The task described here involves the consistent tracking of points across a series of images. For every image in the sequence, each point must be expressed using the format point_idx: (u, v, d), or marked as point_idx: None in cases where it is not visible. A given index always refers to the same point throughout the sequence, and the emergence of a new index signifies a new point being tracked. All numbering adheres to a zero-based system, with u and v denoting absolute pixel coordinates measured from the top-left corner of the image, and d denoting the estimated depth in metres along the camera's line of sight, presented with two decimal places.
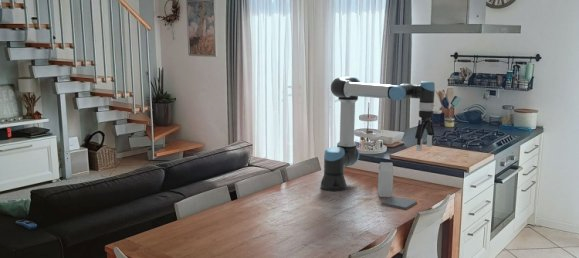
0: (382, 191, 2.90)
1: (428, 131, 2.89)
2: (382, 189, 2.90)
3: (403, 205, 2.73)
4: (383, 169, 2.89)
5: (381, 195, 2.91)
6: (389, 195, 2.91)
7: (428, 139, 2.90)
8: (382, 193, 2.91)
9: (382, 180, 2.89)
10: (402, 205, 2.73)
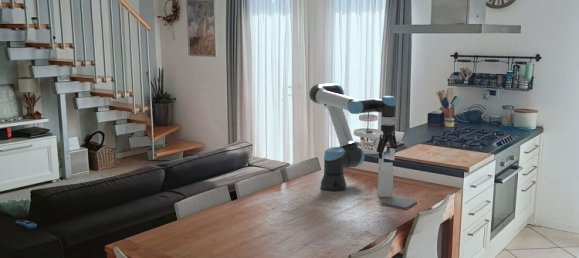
0: (382, 191, 2.90)
1: (391, 144, 2.94)
2: (382, 189, 2.90)
3: (403, 205, 2.73)
4: (383, 169, 2.89)
5: (381, 195, 2.91)
6: (389, 195, 2.91)
7: (391, 152, 2.96)
8: (382, 193, 2.91)
9: (382, 180, 2.89)
10: (402, 205, 2.73)
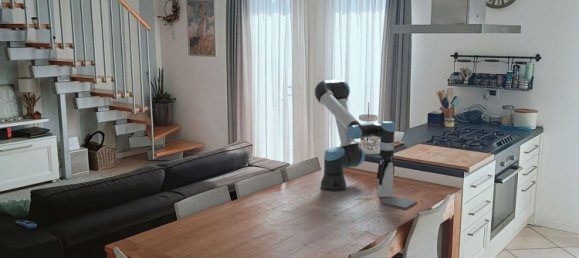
0: (382, 191, 2.90)
1: None
2: None
3: (403, 205, 2.73)
4: None
5: (381, 195, 2.91)
6: (389, 195, 2.91)
7: None
8: (382, 193, 2.91)
9: None
10: (402, 205, 2.73)
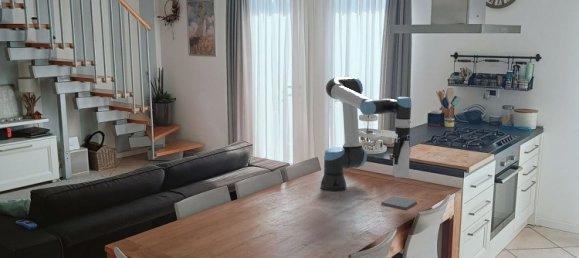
0: (398, 171, 2.73)
1: None
2: None
3: (403, 205, 2.73)
4: None
5: (397, 175, 2.74)
6: (405, 175, 2.73)
7: None
8: (398, 173, 2.73)
9: None
10: (402, 205, 2.73)
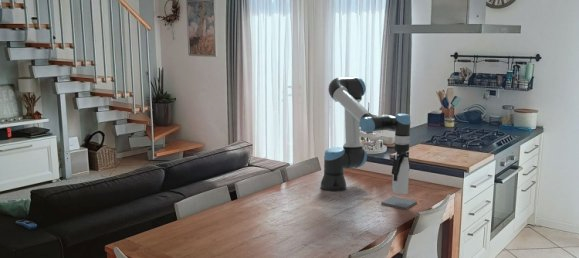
0: (397, 187, 2.74)
1: None
2: None
3: (403, 205, 2.73)
4: None
5: (396, 192, 2.75)
6: (405, 192, 2.75)
7: None
8: (397, 190, 2.75)
9: None
10: (402, 205, 2.73)
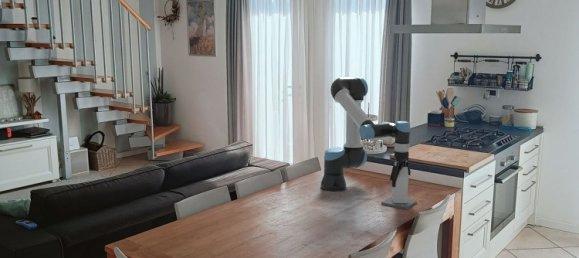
0: (396, 197, 2.76)
1: None
2: (396, 195, 2.76)
3: (403, 205, 2.73)
4: None
5: (395, 201, 2.76)
6: (404, 201, 2.76)
7: None
8: (396, 199, 2.76)
9: None
10: (402, 205, 2.73)
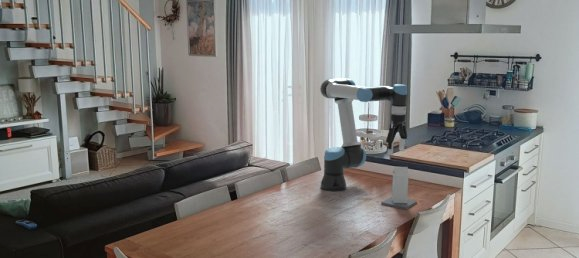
0: (396, 197, 2.76)
1: (401, 135, 2.84)
2: (396, 195, 2.76)
3: (403, 205, 2.73)
4: (397, 174, 2.75)
5: (395, 201, 2.76)
6: (404, 201, 2.76)
7: (401, 143, 2.85)
8: (396, 199, 2.76)
9: (396, 186, 2.75)
10: (402, 205, 2.73)
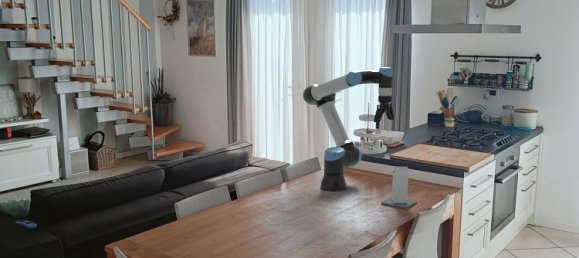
0: (396, 197, 2.76)
1: (388, 116, 2.99)
2: (396, 195, 2.76)
3: (403, 205, 2.73)
4: (397, 174, 2.75)
5: (395, 201, 2.76)
6: (404, 201, 2.76)
7: (388, 123, 3.00)
8: (396, 199, 2.76)
9: (396, 186, 2.75)
10: (402, 205, 2.73)
